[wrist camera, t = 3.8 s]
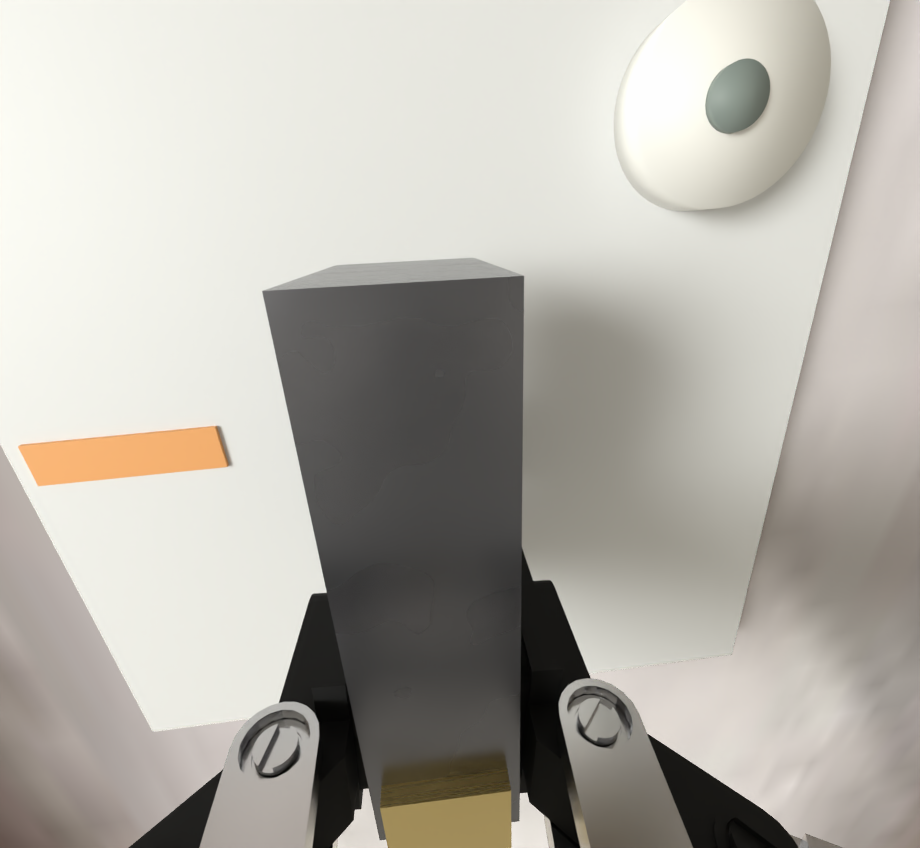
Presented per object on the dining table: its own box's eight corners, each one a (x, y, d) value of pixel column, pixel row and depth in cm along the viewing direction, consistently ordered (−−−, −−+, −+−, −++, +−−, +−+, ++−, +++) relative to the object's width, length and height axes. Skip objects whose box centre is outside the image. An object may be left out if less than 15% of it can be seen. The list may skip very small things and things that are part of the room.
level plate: (-182, -52, 9) (-436, -174, 6) (855, -89, 10) (1012, -206, 7) (173, 692, 18) (130, 774, 15) (708, 624, 19) (756, 687, 16)
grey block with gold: (357, 257, 10) (250, 295, 4) (459, 252, 11) (531, 278, 4) (397, 564, 14) (379, 866, 7) (472, 557, 14) (523, 846, 7)
